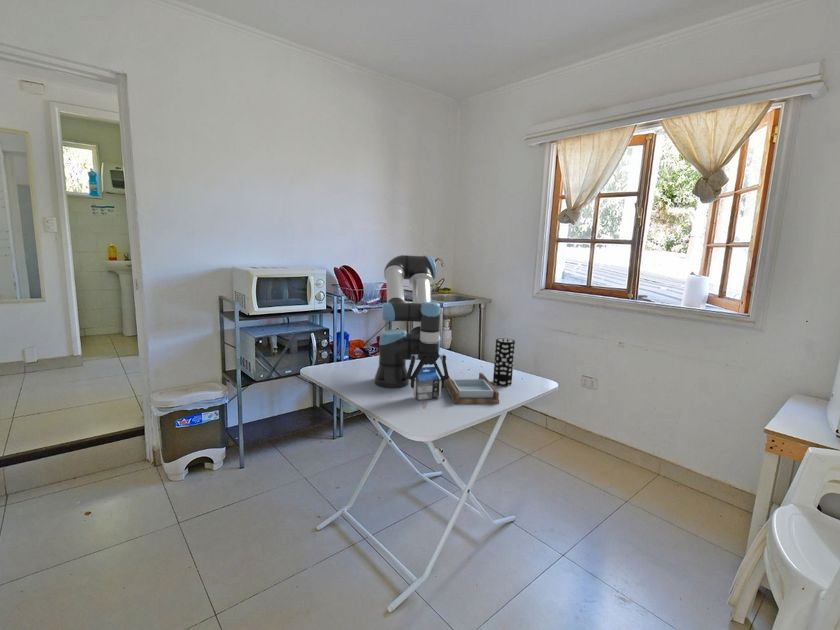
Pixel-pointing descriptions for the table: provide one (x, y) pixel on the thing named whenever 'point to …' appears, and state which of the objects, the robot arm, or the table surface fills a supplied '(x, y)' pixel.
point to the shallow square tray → (473, 388)
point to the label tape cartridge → (427, 384)
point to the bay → (457, 400)
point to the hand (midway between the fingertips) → (426, 395)
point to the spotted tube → (503, 362)
